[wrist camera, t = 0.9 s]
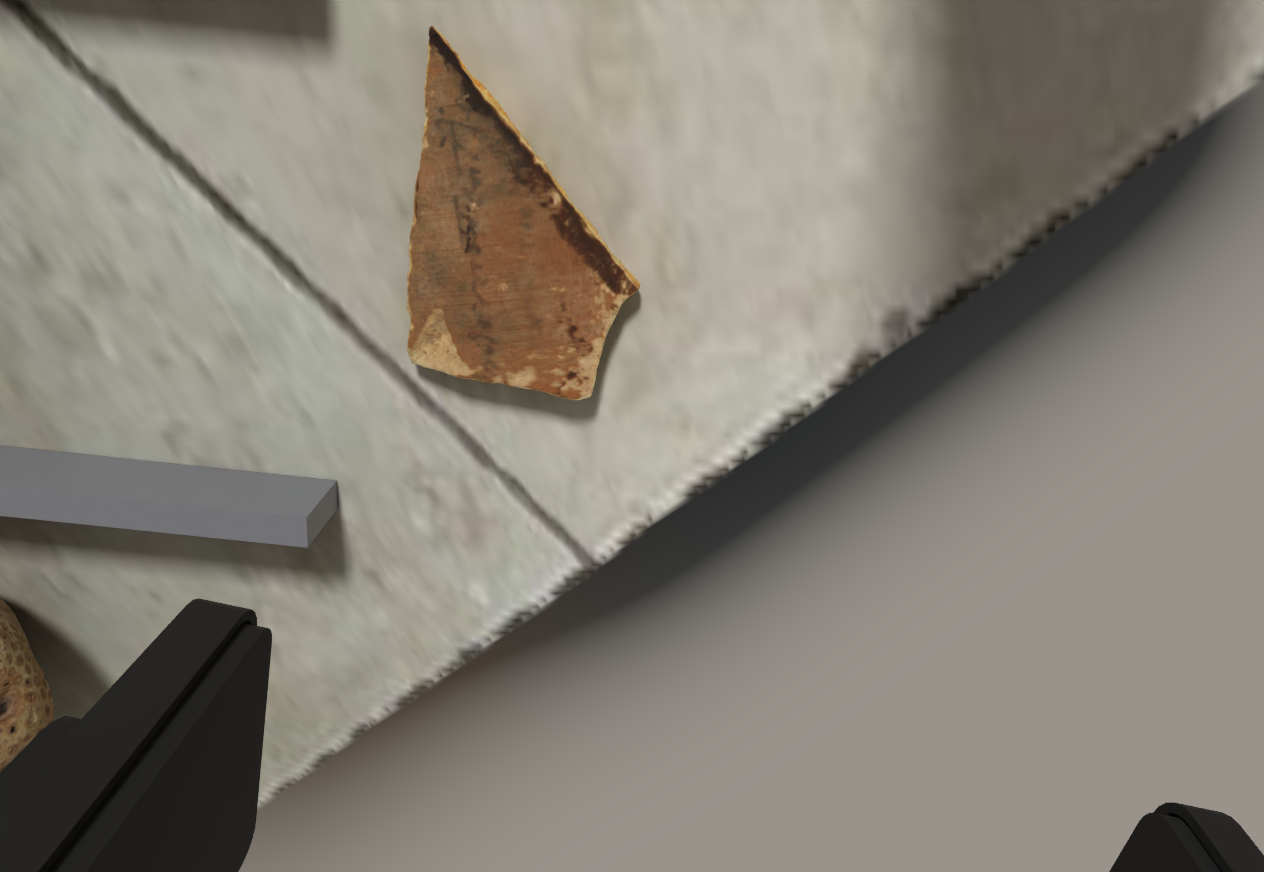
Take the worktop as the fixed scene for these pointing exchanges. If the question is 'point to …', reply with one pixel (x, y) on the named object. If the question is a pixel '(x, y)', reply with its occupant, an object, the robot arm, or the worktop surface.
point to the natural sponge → (20, 690)
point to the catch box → (164, 497)
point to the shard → (501, 251)
